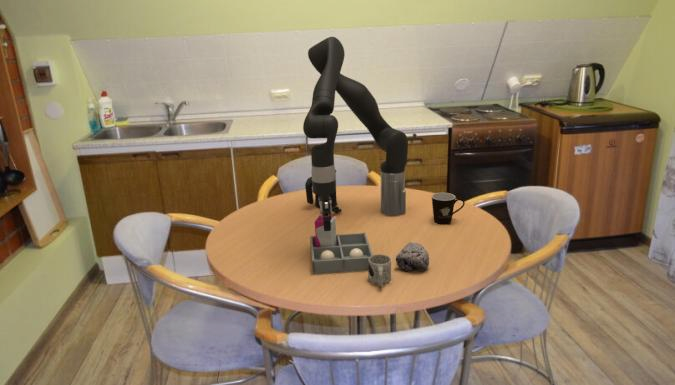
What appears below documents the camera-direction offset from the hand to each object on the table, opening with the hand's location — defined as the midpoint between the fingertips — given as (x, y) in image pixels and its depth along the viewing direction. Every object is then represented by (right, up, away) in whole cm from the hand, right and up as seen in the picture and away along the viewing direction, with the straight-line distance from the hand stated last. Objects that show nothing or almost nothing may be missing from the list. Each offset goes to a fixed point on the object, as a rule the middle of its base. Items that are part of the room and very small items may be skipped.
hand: (326, 225), depth 168 cm
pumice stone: (+26, -13, -7) cm, 30 cm away
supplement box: (0, -9, +4) cm, 9 cm away
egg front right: (+1, -12, -5) cm, 13 cm away
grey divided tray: (+5, -11, 0) cm, 12 cm away
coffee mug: (+44, -1, +25) cm, 51 cm away
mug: (+16, -16, -16) cm, 28 cm away
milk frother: (0, +4, +42) cm, 43 cm away
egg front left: (+10, -11, -5) cm, 15 cm away
